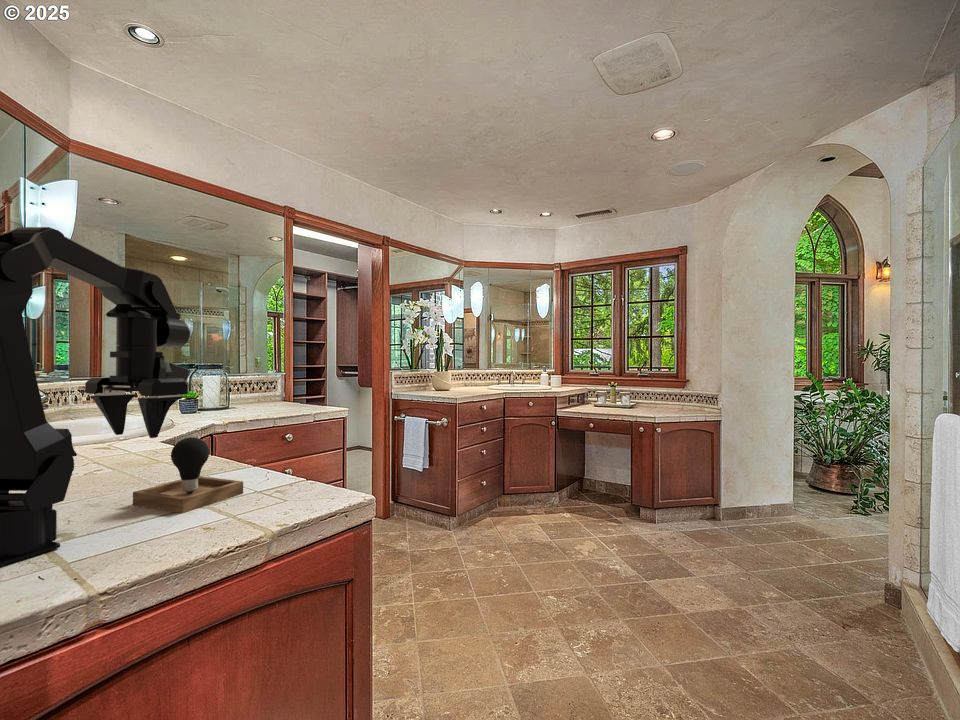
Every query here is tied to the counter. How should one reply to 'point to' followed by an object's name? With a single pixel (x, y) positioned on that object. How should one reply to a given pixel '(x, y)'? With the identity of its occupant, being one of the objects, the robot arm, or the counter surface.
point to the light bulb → (190, 461)
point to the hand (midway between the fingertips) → (136, 436)
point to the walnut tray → (187, 494)
